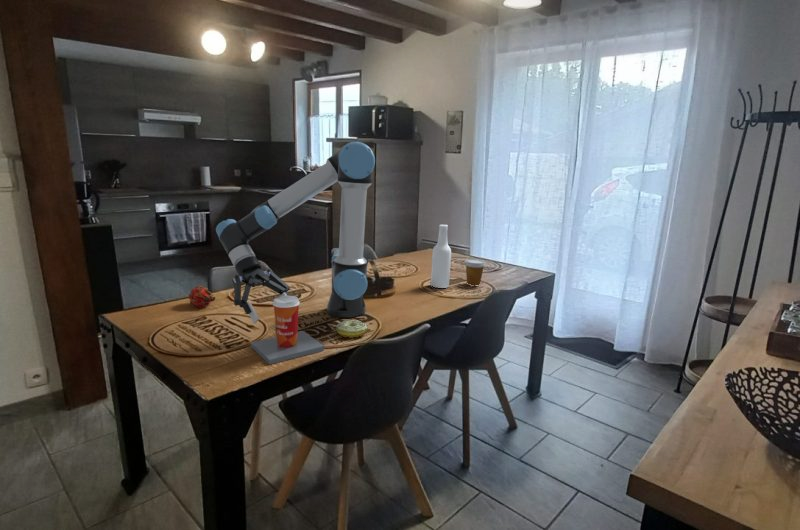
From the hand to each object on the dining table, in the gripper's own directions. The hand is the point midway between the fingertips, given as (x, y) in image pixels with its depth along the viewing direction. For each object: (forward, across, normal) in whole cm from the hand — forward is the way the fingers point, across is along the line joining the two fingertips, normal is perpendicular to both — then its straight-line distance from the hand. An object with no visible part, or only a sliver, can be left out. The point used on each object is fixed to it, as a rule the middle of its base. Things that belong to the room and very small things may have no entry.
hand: (274, 315), depth 145 cm
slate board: (+11, 0, -3) cm, 11 cm away
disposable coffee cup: (+16, -109, +2) cm, 110 cm away
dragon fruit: (-28, -3, -43) cm, 52 cm away
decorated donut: (+15, -24, +1) cm, 28 cm away
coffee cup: (+10, 0, -2) cm, 10 cm away
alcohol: (+9, -94, -5) cm, 95 cm away
